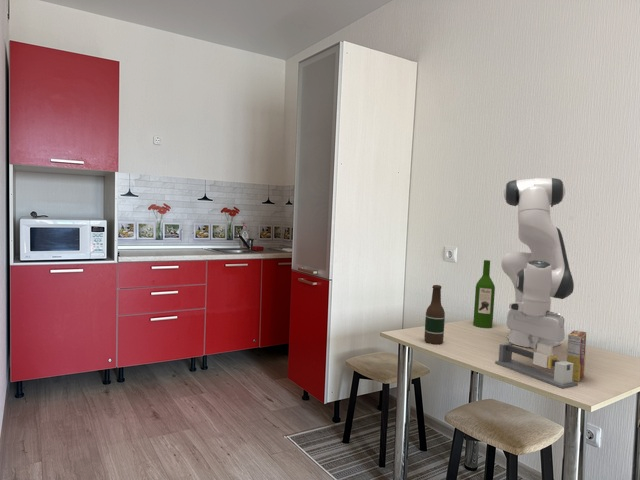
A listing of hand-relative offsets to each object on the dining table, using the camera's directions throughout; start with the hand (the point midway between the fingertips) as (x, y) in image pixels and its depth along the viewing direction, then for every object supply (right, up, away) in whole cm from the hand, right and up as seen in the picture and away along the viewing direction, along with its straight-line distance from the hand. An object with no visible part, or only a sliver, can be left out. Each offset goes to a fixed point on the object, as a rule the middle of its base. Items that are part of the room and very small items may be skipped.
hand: (532, 348), depth 158 cm
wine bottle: (+7, -5, +68) cm, 69 cm away
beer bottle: (-26, -6, +34) cm, 43 cm away
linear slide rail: (0, -9, 0) cm, 9 cm away
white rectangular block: (+2, -5, -3) cm, 6 cm away
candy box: (+13, -10, -2) cm, 16 cm away
